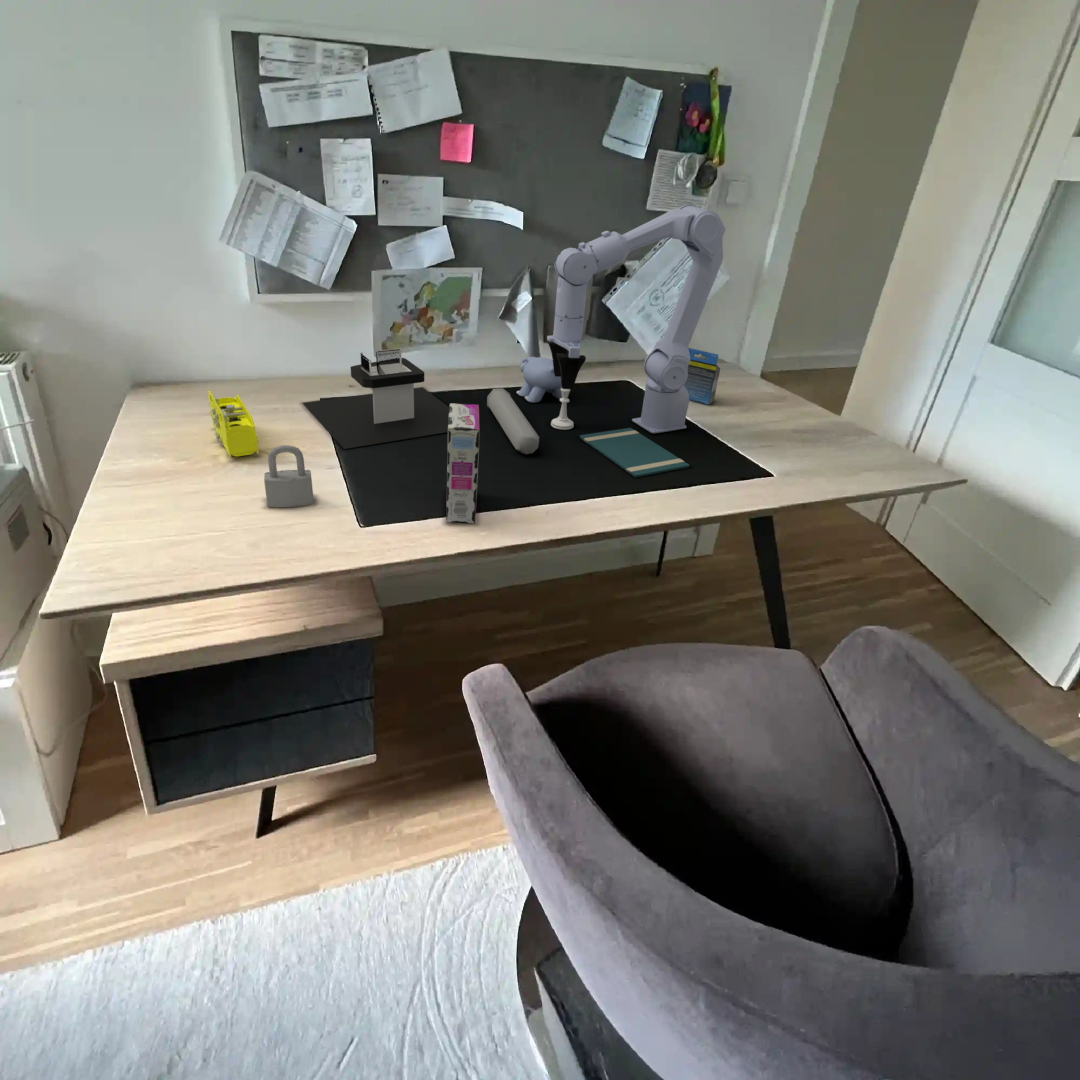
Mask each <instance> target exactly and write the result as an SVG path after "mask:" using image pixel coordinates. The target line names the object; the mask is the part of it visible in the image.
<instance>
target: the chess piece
mask: <svg viewBox="0 0 1080 1080" xmlns="http://www.w3.org/2000/svg"><path fill="white" fill-rule="evenodd" d="M561 393H562V397H563V398H560V399H559V402H560V403H561V407H560V411H559V415H558V416H557V417H555V418H553V419H552V420H551V422H550V426H551V427H552V428H554V429H557V430H565V431H566V430H571V429H573V428H574V426H575V425H574V424H575V422H574V421H573V420H571V419H570V418H569V417H568V409H567V406H568V403H570V399H569V395H570V393H571V389H562V388H561ZM567 397H568V398H567Z"/></svg>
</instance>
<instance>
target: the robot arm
mask: <svg viewBox="0 0 1080 1080" xmlns="http://www.w3.org/2000/svg"><path fill="white" fill-rule="evenodd" d="M725 232H726V226H725V225H724V223H723V221H722V219H721V217H720V216H719V214H718V213H717V212H716V211H714V210H709V209H704V208H701V207H698V206H696V205H694V204H691V203H688V204H687V203H686V204H684V205H682V206H680V207H679V208H678V207H676V208H671V209H670V210H668V211H667V212H665V213H663V214H661V215H660V216H657V217H655V218H653V219H651V220H650V221H646V222H645V223H643V224H641V225H639V226H637V227H635V228H633V229H631V230H629V231H627V232H624V233H623V234H621V233H619V232H617V231H615V230H613V231H609V230H605V231H602V232H601V236H599V237H597V238H595V239H593V240H590V241H587V242H584V241H582V242H579V243H578V247H577V248H576V247H575V248H574V247H568V248H565V249H563V250H562V251H560V254H559V255H558V256H557V258H556V261H554V264H553V265H554V271H555V272H556V274H557V275H558V278H557V288H556V294H555V295H556V297H555V309H554V320H553V321H554V322H553V334H552V335H547V336H546V340H547V345H548V346H549V349H550V353H551V357H552V359H551V360H553V368H554V375H555V377H561V385H562V389H570V390H573V389H574V387H575V383H576V381H577V377H578V376H579V375H578V374H579V372H580V370H581V368H582V366H583V365H584V363H585V362H586V360H587V356H585V354H581V347H582V345H583V342H584V341H583V340H584V339H583V333H584V332H583V331H584V330H583V329H584V321H585V311H586V300H587V290H588V289H587V287H588V282H589V281H590V280H592V277H593V276H594V275H596V274H599V273H600V272H603V271H605V270H607V269H611V268H612V267H614V266H617V265H619V264H621V263H623V262H625V261H626V259H627V256H628V255H629V253H630V252H633V251H635V250H638V249H641V248H644V247H646V246H648V245H651V244H655V242H659V241H661V240H664V239H667V238H668V239H674V240H679V241H680V242H682V244H683V245H684V246H685V247H686V249H687V251H688V253H689V255H690V257H691V260H692V261H691V265H690V267H689V270H688V272H687V275H686V278H685V281H684V283H683V286H682V288H681V290H680V294H679V296H678V299H677V301H676V304H675V307H674V310H673V311H672V314H671V317H670V320H669V322H668V325H667V328H666V330H665V333H664V335H663V337H662V338H660V339H659V340H658V341H656V343H654V346H653V349H652V350H651V351H650V353H649V354H648V355H647V356H646V358H645V359H644V361H643V371H644V373H645V374H646V375H647V378H646V381H645V389H644V395H643V402H642V408H641V415H640V417H634V418H632V419H631V421H632V422H633V423H635V424H636V425H638V426H640V427H641V428H643V429H644V430H646V431H648V432H649V433H651V434H655V435H656V434H659V433H666V432H673V431H679V430H685V429H687V428H688V427H687V425H686V418H687V414H688V408H689V403H690V400H689V394H688V391H687V389H686V387H685V386H683V385H684V384H685V382H686V380H687V377H688V365H689V362H690V355H689V349H688V348H689V346H690V344H691V341H692V339H693V336H694V333H695V330H696V328H697V326H698V323H699V320H700V318H701V316H702V313H703V310H704V308H705V305H706V303H707V301H708V298H709V295H710V293H711V290H712V288H713V285H714V283H715V281H716V279H717V276H718V273H719V271H720V269H721V265H722V264H723V260H724V248H723V247H724V243H723V237H724V235H725Z"/></svg>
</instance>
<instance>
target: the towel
mask: <svg viewBox="0 0 1080 1080" xmlns="http://www.w3.org/2000/svg"><path fill="white" fill-rule="evenodd" d="M579 439H581V440H582V441H583V442H585V443H586V444H587V445H589V446H590V447H592V448H593V449H595V450H596V451H597V452H599V453H600V454H601V455H603V456H605V457H606V458H608V459H609V460H610V461H611V462H613V463H614V464H616V465H617V466H619V467H620V468H621V469H623V470H624V471H626V472H627V473H629V474H630V475H631V476H632V477H634V478H640V477H646V476H651V475H656V474H661V473H666V472H671V471H677V470H683V469H687V468H690V464H689V463H687V461H684V460H683V459H682V458H679V457H678V456H676V455H675V454H673V453H671V452H670V451H669V450H667V449H665V448H664V447H662V446H660V445H659V444H657V443H656V442H654V441H652V440H651V439H649V438H648V437H647V436H645V435H643V434H642V433H640V432H638V431H637V430H636V429H634V428H632V427H625V428H619V429H613V430H606V431H599V432H594V433H593V432H592V433H587V434H580V435H579Z"/></svg>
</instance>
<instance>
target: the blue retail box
mask: <svg viewBox="0 0 1080 1080" xmlns="http://www.w3.org/2000/svg"><path fill="white" fill-rule="evenodd" d="M688 349H689V355H690V362H689V365H688V377H687V380H686V382H685V384H684V385H683V386H685V387H686V389H687V391H688V394H689V401H693V402H697V403H700V404H704V405H708V406H709V405H711V404H713V402H714V401H715V398H716V392H717V388H718V382H719V377H720V373H721V367H719V365H717V364H718V359H719V354H717V353H714V352H709V351H705V350H700V349H696V348H691V347H688ZM695 355H697V356H695ZM699 355H701V356H702V357H705V358H702V357H698V356H699Z"/></svg>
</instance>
